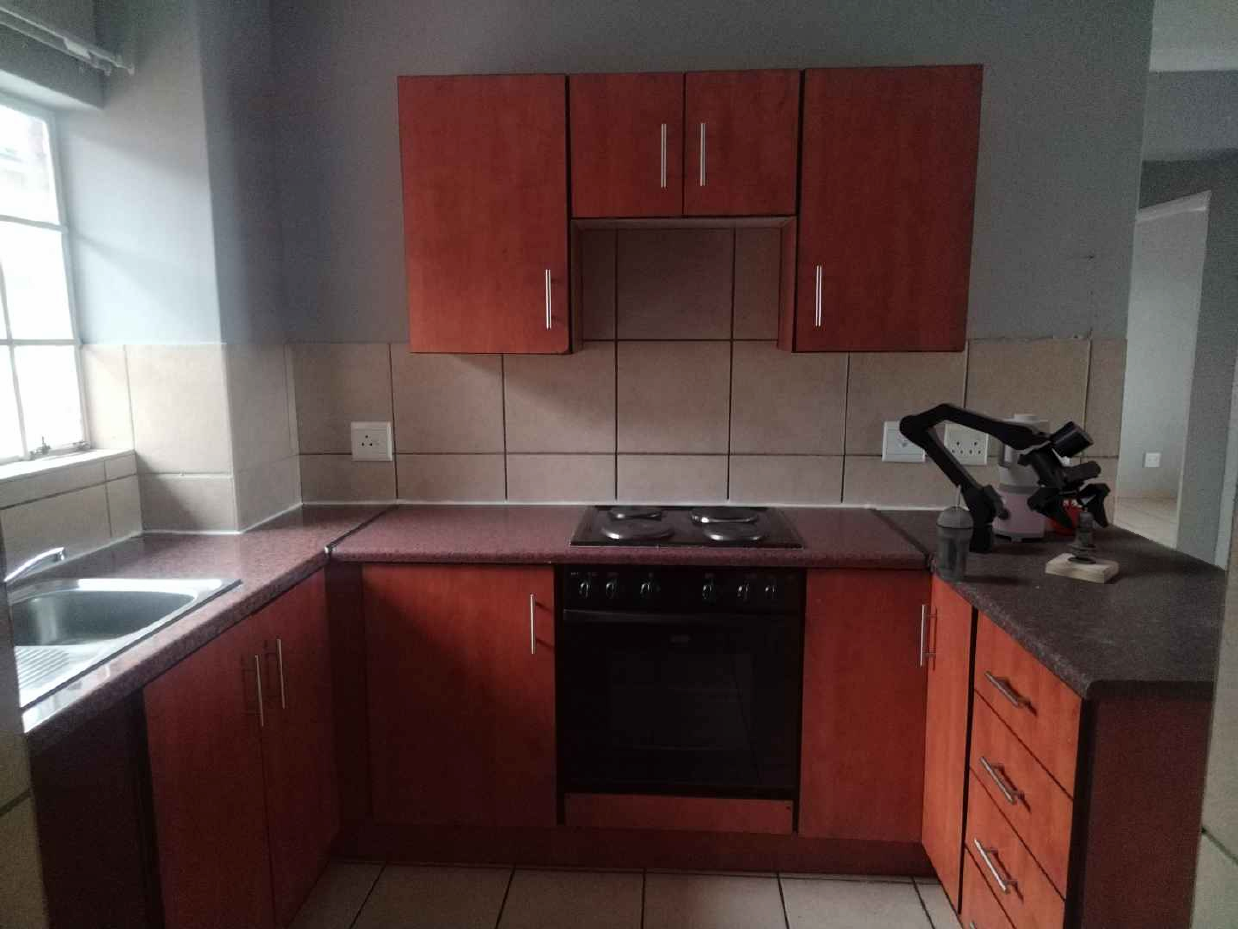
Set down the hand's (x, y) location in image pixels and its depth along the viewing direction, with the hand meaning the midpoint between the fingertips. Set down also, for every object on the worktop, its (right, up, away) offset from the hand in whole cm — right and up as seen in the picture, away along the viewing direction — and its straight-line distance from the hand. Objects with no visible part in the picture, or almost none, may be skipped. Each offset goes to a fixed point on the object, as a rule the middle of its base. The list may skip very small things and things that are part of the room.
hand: (1090, 528), depth 160 cm
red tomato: (+19, -5, +40) cm, 44 cm away
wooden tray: (0, -10, +3) cm, 10 cm away
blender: (+1, -6, +34) cm, 34 cm away
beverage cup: (-30, -11, -1) cm, 32 cm away
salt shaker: (0, -8, +2) cm, 8 cm away
